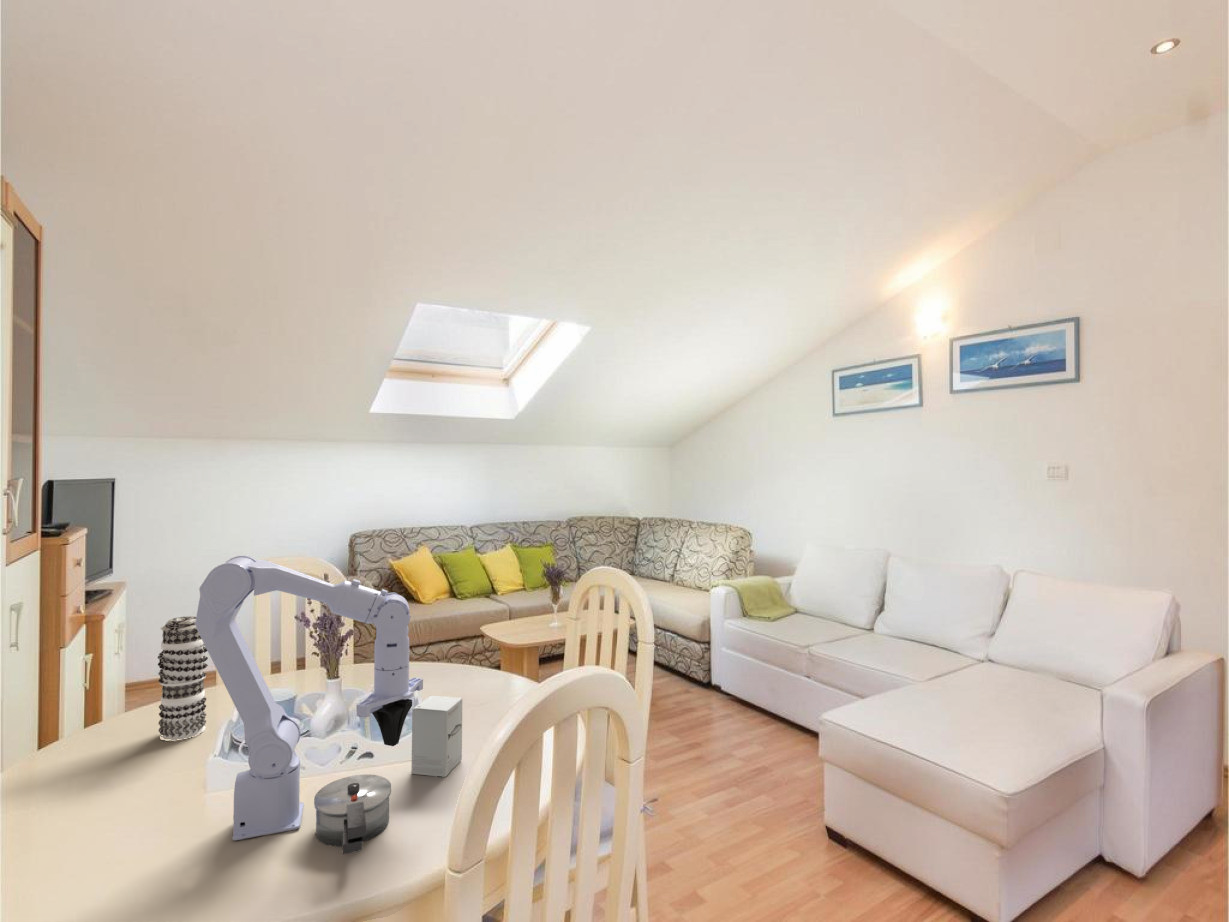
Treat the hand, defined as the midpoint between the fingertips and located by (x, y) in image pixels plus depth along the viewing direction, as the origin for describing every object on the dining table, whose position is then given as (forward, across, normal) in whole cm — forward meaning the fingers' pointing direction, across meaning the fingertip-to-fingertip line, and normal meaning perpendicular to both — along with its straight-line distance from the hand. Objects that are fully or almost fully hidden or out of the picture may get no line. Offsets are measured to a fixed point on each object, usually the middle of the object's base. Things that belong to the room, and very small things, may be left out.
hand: (391, 743), depth 111 cm
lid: (+6, -10, -1) cm, 12 cm away
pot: (+10, -10, -1) cm, 15 cm away
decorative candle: (+11, +6, +62) cm, 63 cm away
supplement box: (+11, +14, +1) cm, 18 cm away
